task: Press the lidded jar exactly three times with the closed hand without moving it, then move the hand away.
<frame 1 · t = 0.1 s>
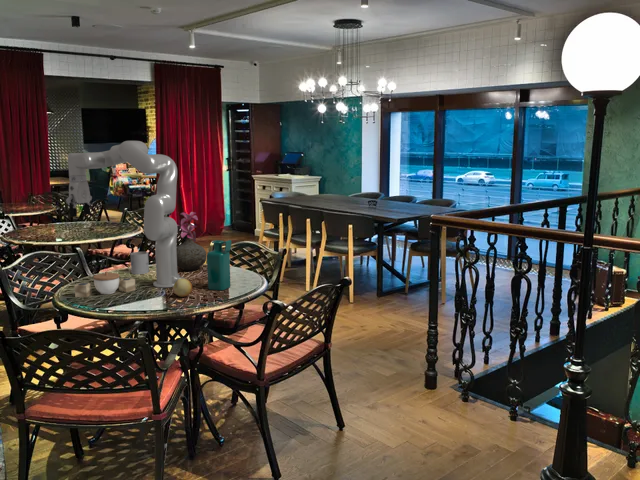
hand: (80, 215, 278), 31 cm above the table, fingers open, 9 cm apart
lidded jar: (107, 293, 257), on the table
marked cube 1: (83, 295, 252), on the table
marked cube 2: (127, 290, 261), on the table
vase: (190, 269, 304), on the table
mug: (141, 272, 300), on the table
fruit: (183, 297, 249), on the table
teal bottle: (220, 288, 264), on the table
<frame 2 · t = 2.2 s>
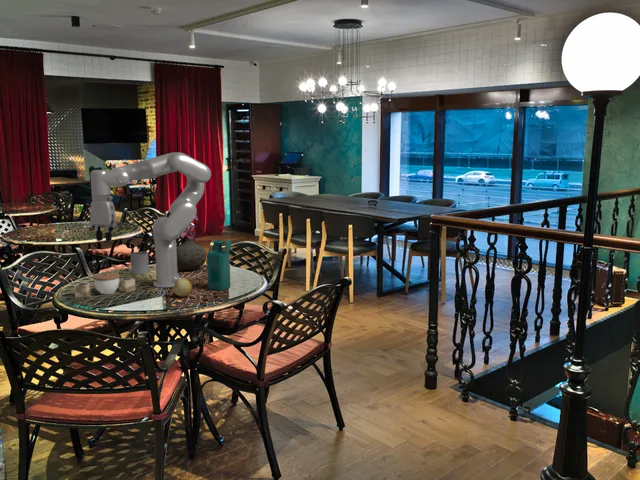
hand: (104, 240, 253), 23 cm above the table, fingers open, 3 cm apart
nothing on the table moved.
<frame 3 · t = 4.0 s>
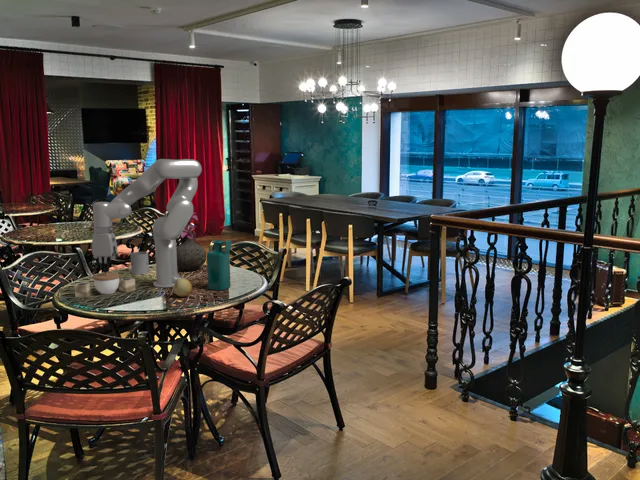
hand: (105, 271, 255), 9 cm above the table, fingers closed
lidded jar: (107, 293, 257), on the table, touching gripper
everything else where it was.
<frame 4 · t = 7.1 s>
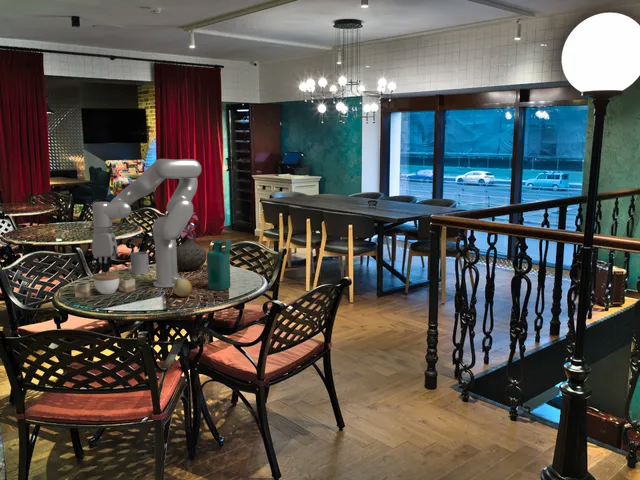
hand: (105, 271, 256), 9 cm above the table, fingers closed
nothing on the table moved.
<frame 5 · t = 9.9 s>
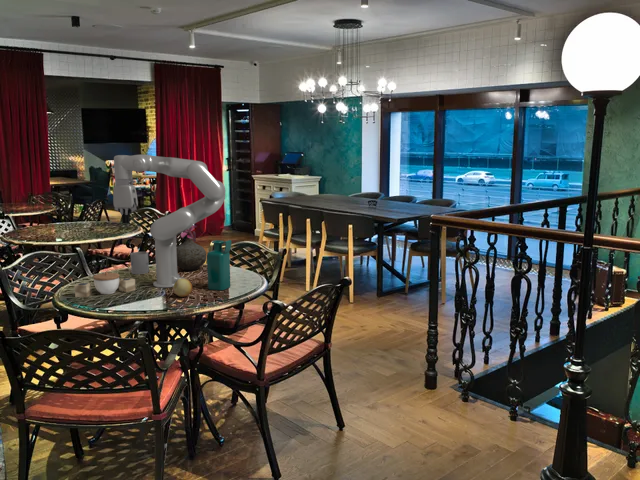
hand: (126, 223, 265), 29 cm above the table, fingers closed
lidded jar: (107, 293, 257), on the table
everything else where it was.
at the end: lidded jar moved 0.2 cm from its start; lidded jar tilted 0°; the gripper is holding nothing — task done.
